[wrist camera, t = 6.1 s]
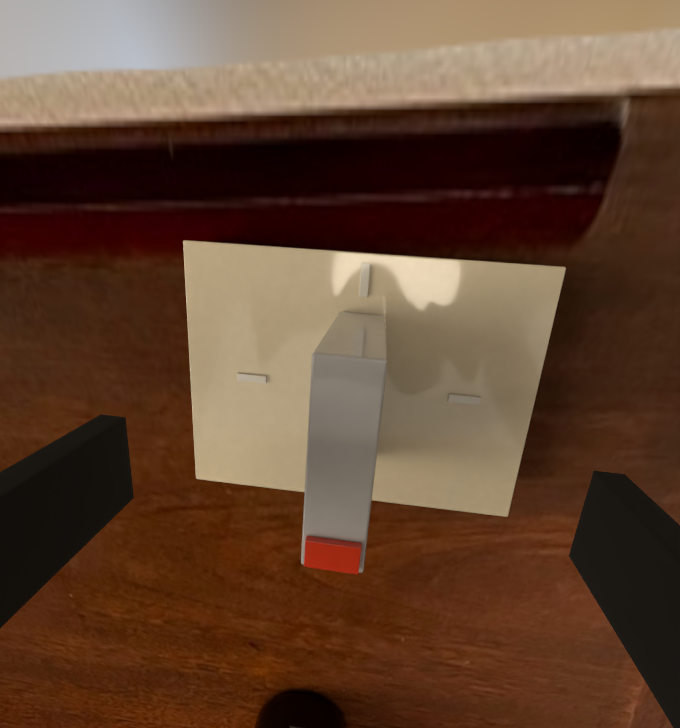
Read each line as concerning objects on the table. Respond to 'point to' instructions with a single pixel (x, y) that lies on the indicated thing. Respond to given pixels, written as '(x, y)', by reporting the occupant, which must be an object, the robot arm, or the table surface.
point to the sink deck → (404, 369)
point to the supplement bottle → (298, 713)
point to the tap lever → (343, 441)
